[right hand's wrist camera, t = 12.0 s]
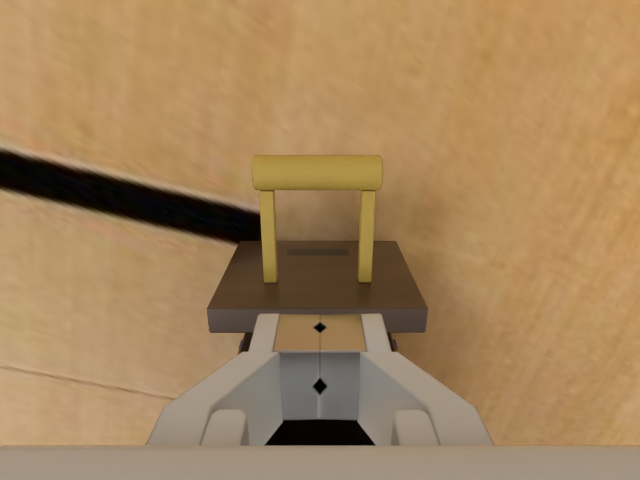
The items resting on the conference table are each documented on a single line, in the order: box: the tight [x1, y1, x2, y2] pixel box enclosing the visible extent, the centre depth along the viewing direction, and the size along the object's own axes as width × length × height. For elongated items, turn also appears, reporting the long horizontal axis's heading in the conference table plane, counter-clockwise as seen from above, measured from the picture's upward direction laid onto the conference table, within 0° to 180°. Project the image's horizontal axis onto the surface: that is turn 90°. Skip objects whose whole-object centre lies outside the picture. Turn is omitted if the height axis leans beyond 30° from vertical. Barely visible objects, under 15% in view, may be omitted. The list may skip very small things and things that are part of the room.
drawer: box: [207, 155, 428, 446], centre depth 23 cm, size 22×9×8 cm, turn 0°
